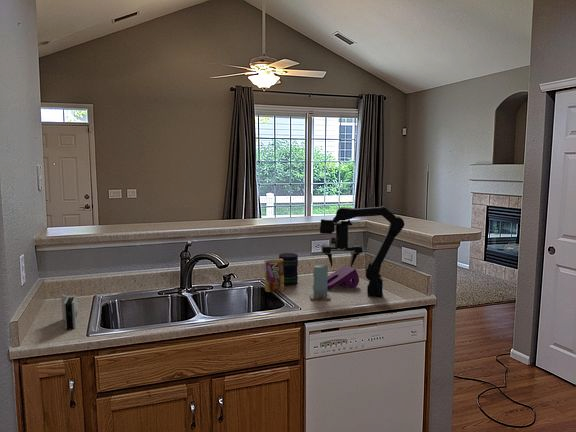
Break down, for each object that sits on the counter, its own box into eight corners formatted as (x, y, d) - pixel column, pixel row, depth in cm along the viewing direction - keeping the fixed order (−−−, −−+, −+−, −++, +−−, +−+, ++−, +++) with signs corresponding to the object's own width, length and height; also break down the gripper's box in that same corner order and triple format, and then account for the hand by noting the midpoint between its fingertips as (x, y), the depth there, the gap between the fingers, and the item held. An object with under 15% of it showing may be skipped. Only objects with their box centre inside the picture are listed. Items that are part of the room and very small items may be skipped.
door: (326, 295, 203) (326, 265, 202) (327, 297, 200) (327, 267, 199) (312, 295, 203) (313, 265, 201) (313, 297, 200) (313, 267, 198)
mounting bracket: (333, 302, 215) (361, 283, 221) (326, 288, 213) (355, 269, 219) (323, 296, 224) (350, 278, 230) (317, 283, 221) (345, 264, 227)
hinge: (62, 319, 174) (60, 294, 173) (77, 317, 177) (76, 292, 176) (65, 330, 163) (64, 304, 161) (81, 328, 165) (80, 302, 164)
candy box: (282, 288, 217) (282, 258, 216) (284, 291, 213) (284, 260, 211) (264, 289, 215) (264, 259, 213) (266, 292, 211) (266, 261, 209)
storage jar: (287, 287, 220) (287, 257, 218) (274, 283, 227) (274, 254, 225) (301, 283, 226) (302, 255, 224) (289, 279, 234) (289, 252, 232)
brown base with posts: (328, 296, 205) (329, 287, 205) (330, 300, 199) (330, 292, 198) (309, 296, 205) (309, 288, 204) (310, 300, 199) (310, 292, 198)
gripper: (358, 231, 214) (357, 263, 216) (320, 231, 213) (319, 263, 215) (363, 235, 203) (362, 268, 205) (322, 235, 202) (322, 268, 204)
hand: (341, 267), depth 208 cm, fingers open, 9 cm apart
